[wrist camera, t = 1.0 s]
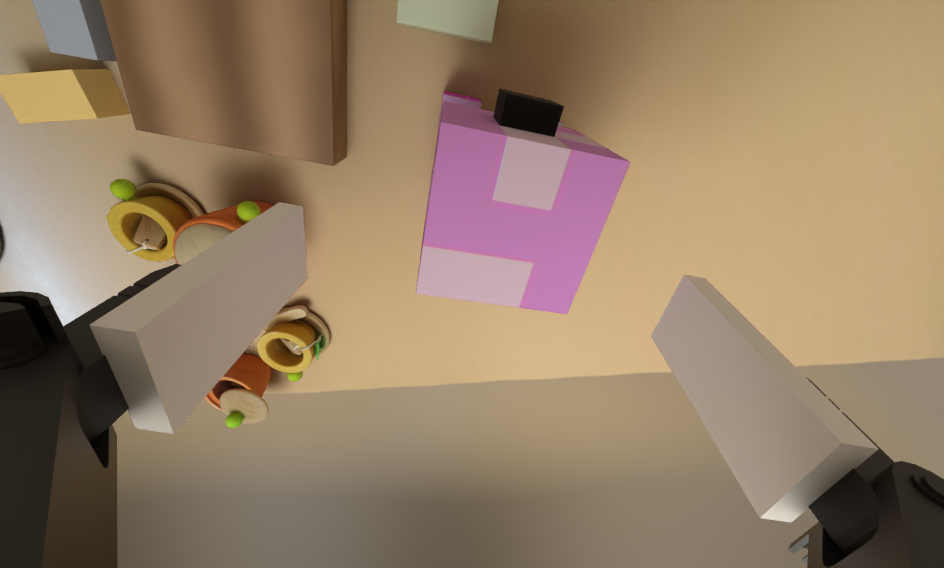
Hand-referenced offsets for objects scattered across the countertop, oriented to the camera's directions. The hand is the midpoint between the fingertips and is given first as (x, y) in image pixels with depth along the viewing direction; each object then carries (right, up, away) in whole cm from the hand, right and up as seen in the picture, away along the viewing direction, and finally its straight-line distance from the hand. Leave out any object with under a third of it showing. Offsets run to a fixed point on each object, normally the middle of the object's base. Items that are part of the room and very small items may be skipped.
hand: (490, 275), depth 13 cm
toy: (0, +10, +17) cm, 20 cm away
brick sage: (-2, +18, +12) cm, 22 cm away
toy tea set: (-23, -2, +25) cm, 34 cm away
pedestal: (-17, +16, +13) cm, 27 cm away
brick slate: (-26, +19, +12) cm, 35 cm away
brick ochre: (-30, +14, +15) cm, 37 cm away
